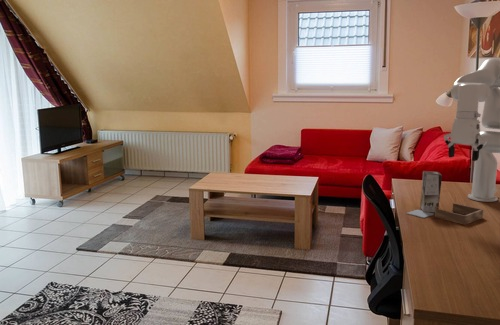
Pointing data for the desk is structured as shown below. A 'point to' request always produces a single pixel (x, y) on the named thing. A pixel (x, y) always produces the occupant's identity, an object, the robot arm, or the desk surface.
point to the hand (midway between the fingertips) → (462, 158)
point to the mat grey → (420, 213)
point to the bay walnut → (470, 212)
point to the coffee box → (430, 191)
